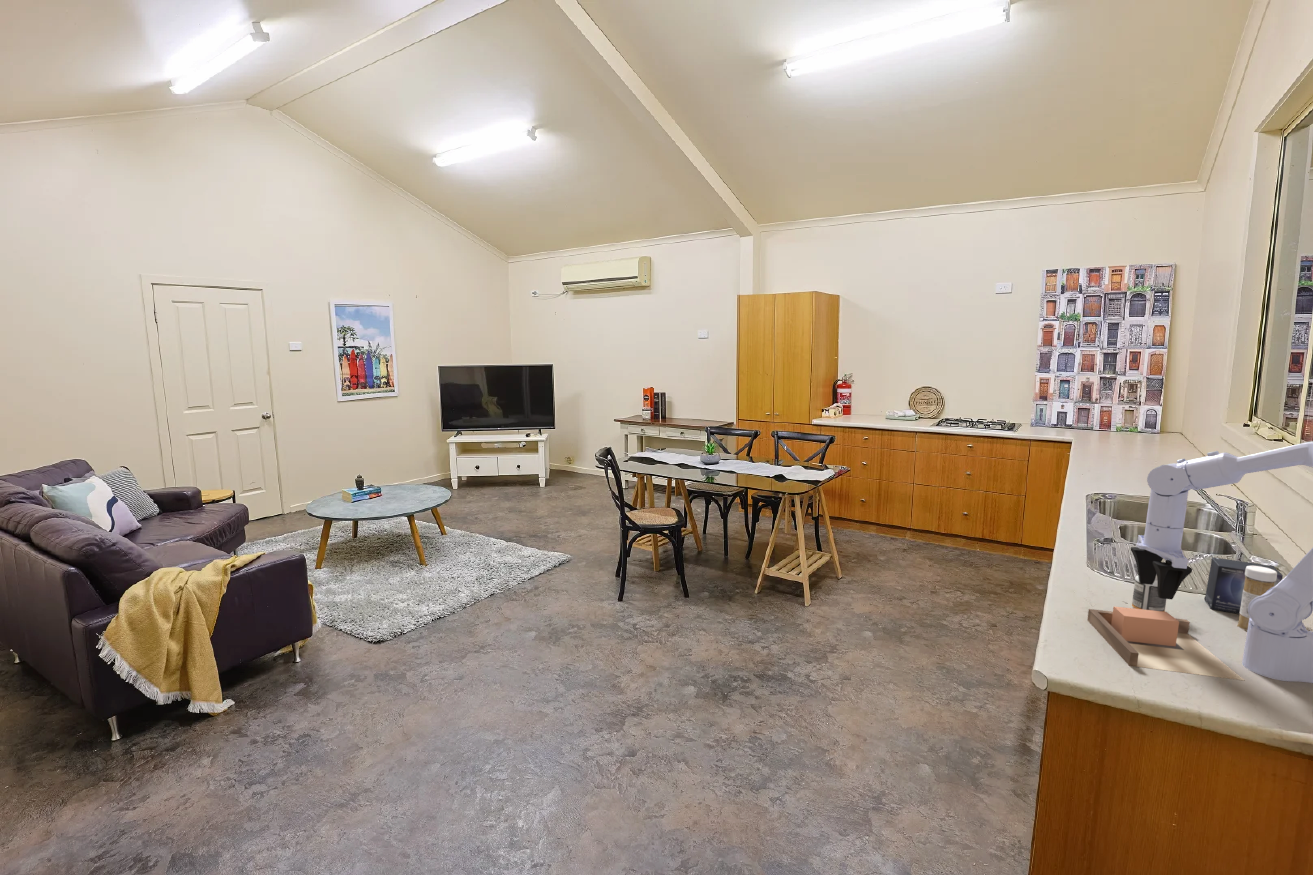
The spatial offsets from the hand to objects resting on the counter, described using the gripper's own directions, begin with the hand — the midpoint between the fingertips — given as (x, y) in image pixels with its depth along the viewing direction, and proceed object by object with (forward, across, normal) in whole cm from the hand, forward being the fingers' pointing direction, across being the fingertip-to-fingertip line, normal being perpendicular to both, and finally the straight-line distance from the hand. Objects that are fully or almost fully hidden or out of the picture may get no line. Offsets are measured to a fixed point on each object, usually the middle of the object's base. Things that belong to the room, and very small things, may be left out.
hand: (1155, 590), depth 123 cm
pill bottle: (+10, -13, +5) cm, 17 cm away
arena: (+9, +8, -2) cm, 12 cm away
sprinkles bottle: (+10, -8, +21) cm, 25 cm away
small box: (+10, -20, +25) cm, 34 cm away
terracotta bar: (+8, +4, -3) cm, 10 cm away
